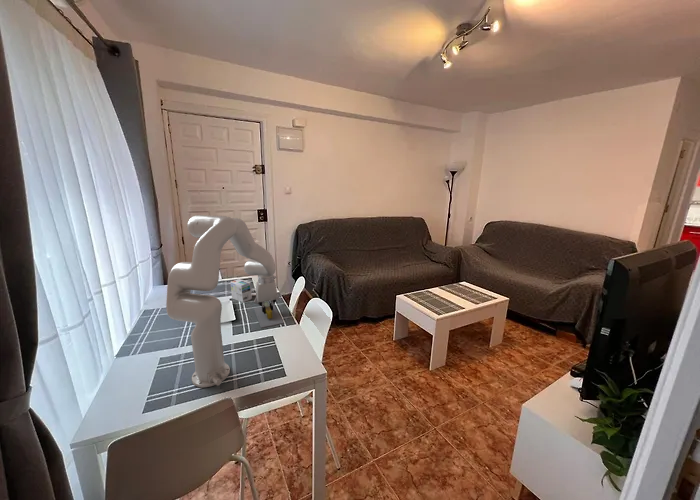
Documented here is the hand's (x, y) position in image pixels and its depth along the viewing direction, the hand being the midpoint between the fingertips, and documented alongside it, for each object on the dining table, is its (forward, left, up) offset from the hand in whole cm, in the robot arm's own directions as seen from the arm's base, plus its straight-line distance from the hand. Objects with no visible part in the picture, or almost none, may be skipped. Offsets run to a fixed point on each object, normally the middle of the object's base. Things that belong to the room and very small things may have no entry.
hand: (267, 312), depth 146 cm
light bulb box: (+30, -2, -3) cm, 30 cm away
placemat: (0, 0, -2) cm, 2 cm away
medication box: (0, 0, -1) cm, 1 cm away
